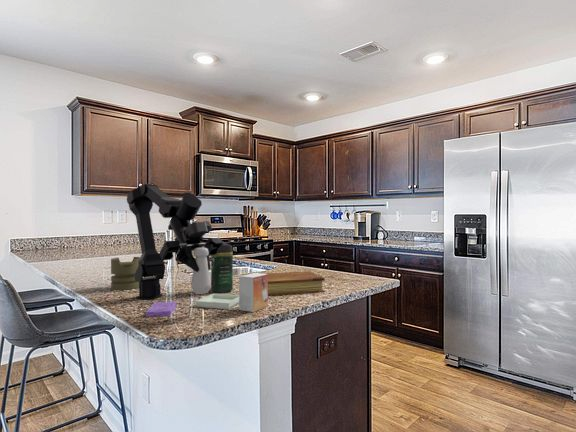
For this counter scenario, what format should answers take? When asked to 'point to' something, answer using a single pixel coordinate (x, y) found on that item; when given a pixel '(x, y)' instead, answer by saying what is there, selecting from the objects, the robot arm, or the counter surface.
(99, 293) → the counter surface
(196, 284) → the salt shaker
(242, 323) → the counter surface
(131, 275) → the piston
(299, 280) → the diary
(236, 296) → the tray
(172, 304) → the sponges
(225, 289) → the coffee jar
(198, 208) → the robot arm
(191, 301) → the counter surface
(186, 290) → the counter surface
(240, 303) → the small box
